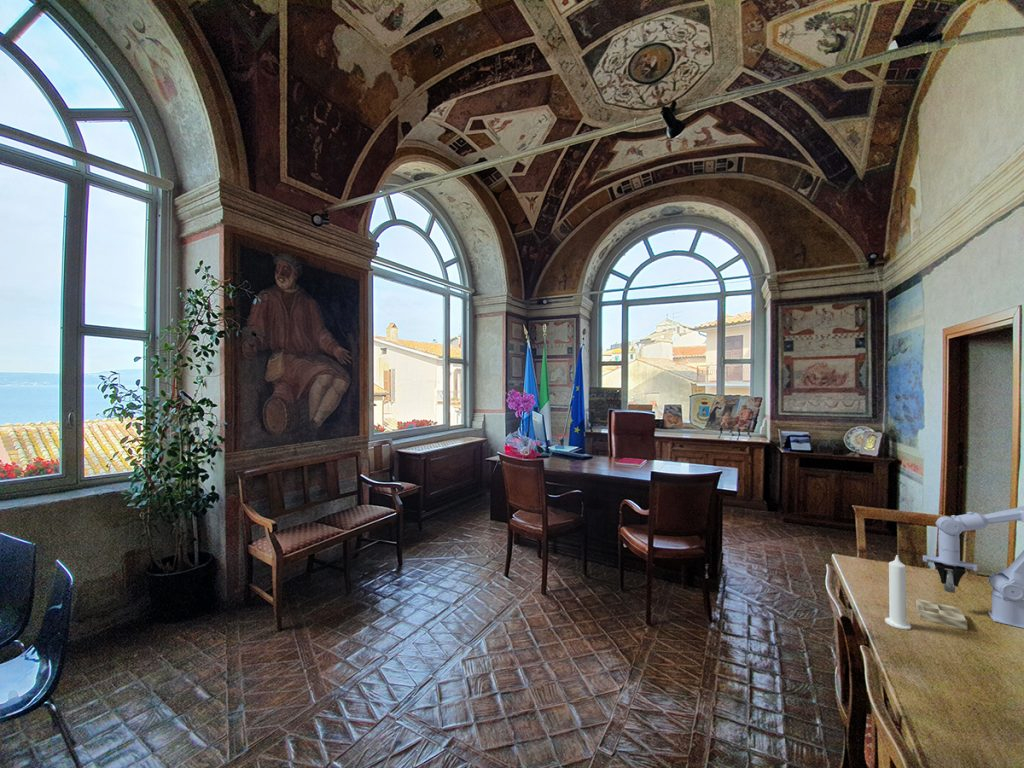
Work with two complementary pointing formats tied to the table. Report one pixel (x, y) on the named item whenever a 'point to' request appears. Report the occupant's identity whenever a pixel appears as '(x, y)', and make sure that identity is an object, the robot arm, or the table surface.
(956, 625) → the socket block
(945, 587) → the pin
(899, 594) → the candle
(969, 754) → the table surface
